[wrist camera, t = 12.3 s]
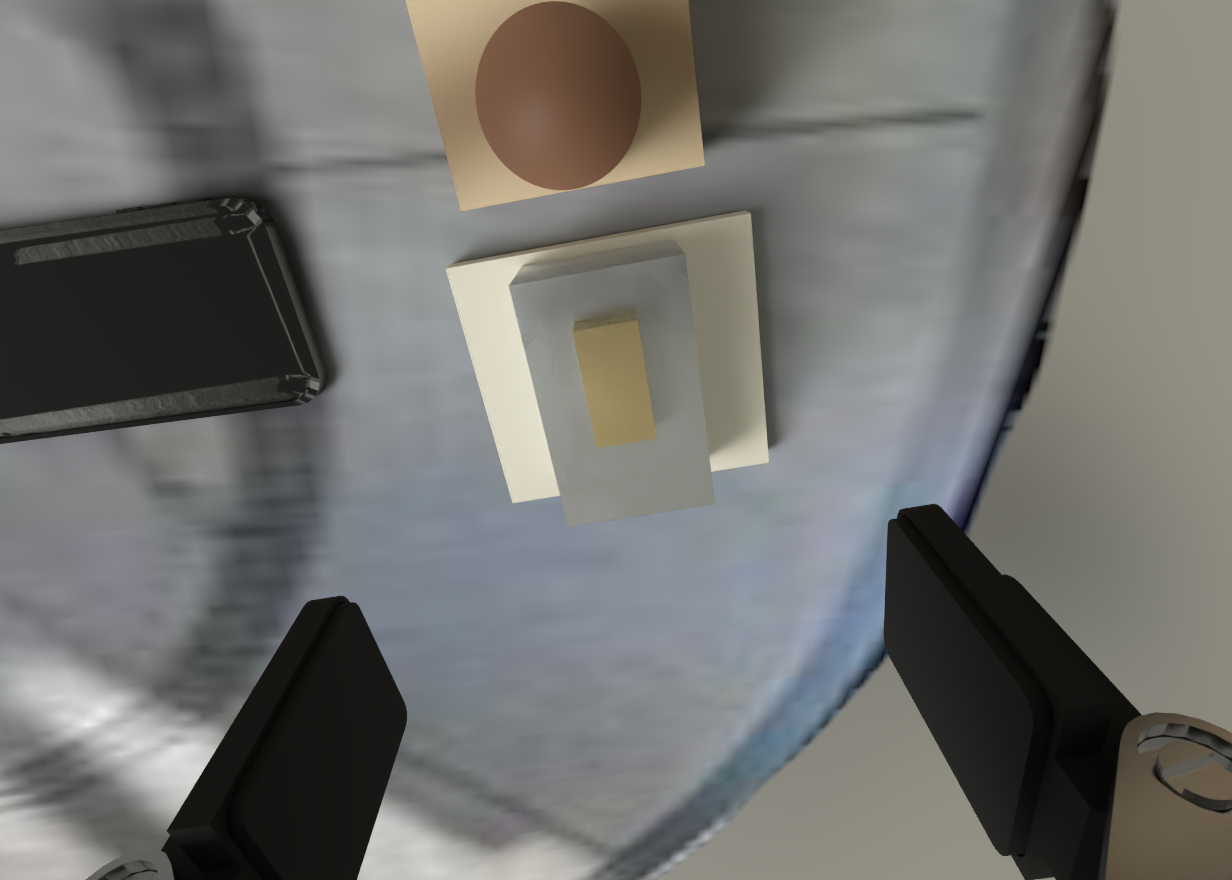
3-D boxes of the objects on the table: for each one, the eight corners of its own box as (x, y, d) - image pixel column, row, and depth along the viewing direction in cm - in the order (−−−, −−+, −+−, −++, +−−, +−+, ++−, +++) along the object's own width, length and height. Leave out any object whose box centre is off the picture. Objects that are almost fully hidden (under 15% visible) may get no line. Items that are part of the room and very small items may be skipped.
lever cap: (522, 265, 22) (504, 292, 18) (673, 238, 22) (689, 259, 18) (572, 480, 26) (566, 542, 22) (701, 459, 26) (719, 518, 22)
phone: (328, 401, 25) (-30, 448, 25) (338, 391, 26) (-6, 436, 26) (252, 190, 21) (-159, 249, 22) (268, 188, 22) (-125, 245, 23)
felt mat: (451, 263, 23) (445, 268, 22) (744, 210, 22) (750, 212, 22) (515, 491, 27) (512, 503, 26) (763, 451, 27) (768, 462, 26)
